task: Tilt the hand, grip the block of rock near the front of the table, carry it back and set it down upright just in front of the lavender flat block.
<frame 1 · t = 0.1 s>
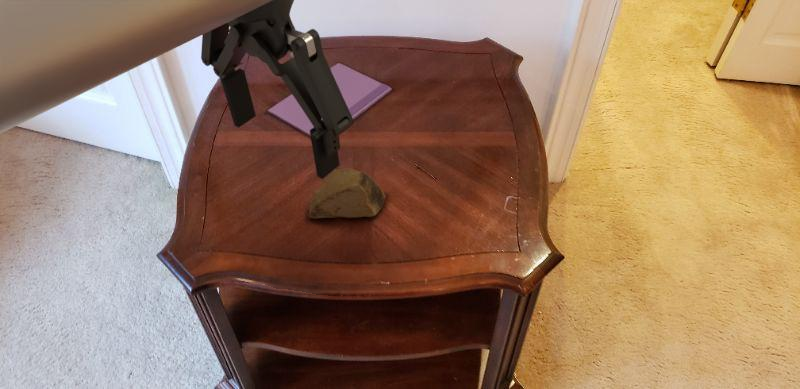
hand: (285, 144, 63), 19 cm above the table, tool pointing down, fingers open, 13 cm apart
rock: (346, 209, 81), on the table
lavender flat block: (331, 101, 98), on the table
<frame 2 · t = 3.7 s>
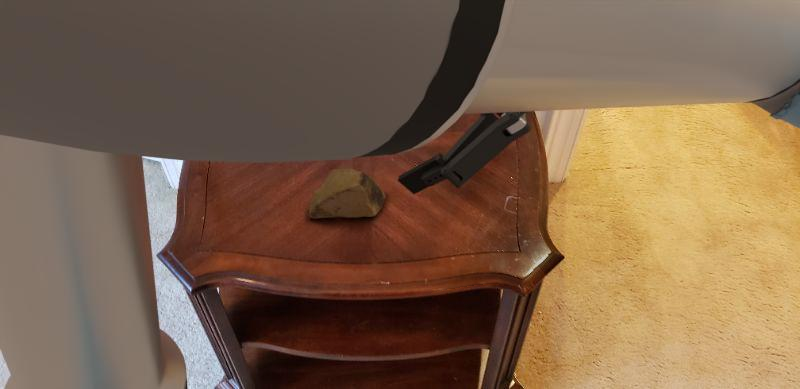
hand: (418, 146, 68), 15 cm above the table, tool tilted 45°, fingers open, 13 cm apart
nothing on the table moved.
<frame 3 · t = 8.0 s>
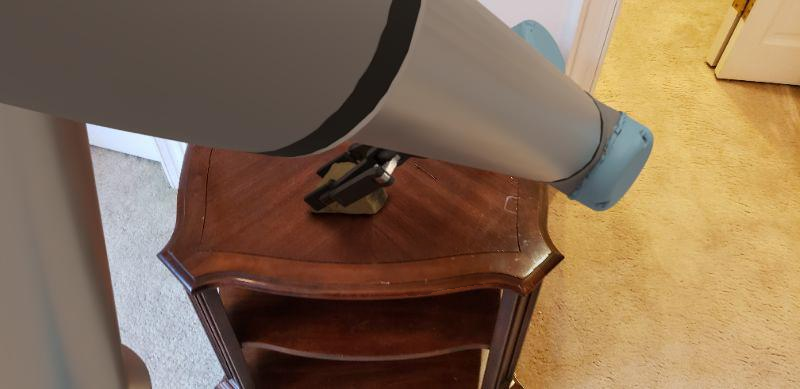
hand: (317, 190, 79), 3 cm above the table, tool tilted 45°, fingers closed on rock, 5 cm apart
rock: (347, 206, 81), on the table, touching gripper
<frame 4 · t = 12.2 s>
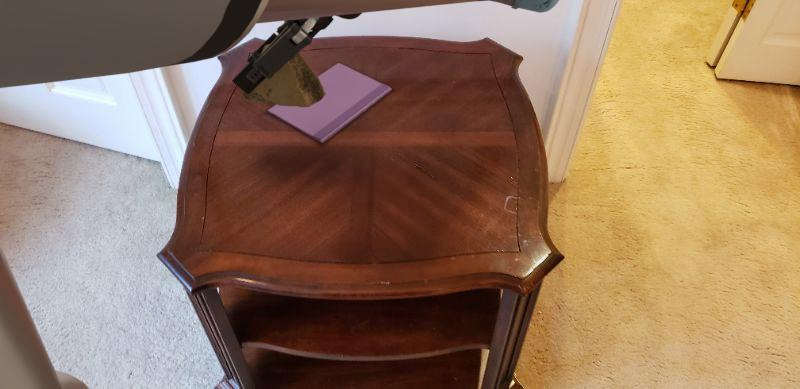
hand: (248, 75, 76), 16 cm above the table, tool tilted 45°, fingers closed on rock, 4 cm apart
rock: (283, 100, 79), point 12 cm above the table, touching gripper
when the fingers open (4 cm above the table, at t = 16.1 s): rock stays where it is, on the table.
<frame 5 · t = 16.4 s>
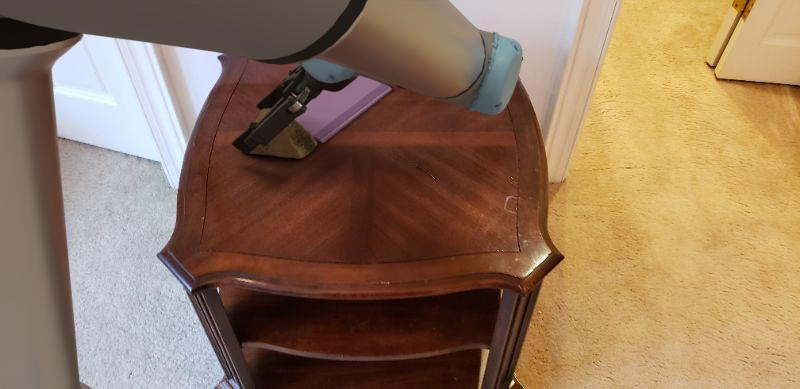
hand: (252, 128, 86), 4 cm above the table, tool tilted 45°, fingers open, 8 cm apart
rock: (280, 150, 90), on the table
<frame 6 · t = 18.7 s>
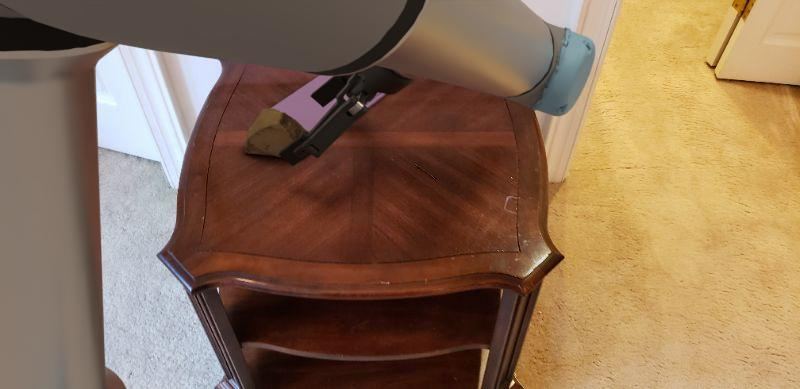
hand: (302, 128, 84), 6 cm above the table, tool tilted 45°, fingers open, 13 cm apart
nothing on the table moved.
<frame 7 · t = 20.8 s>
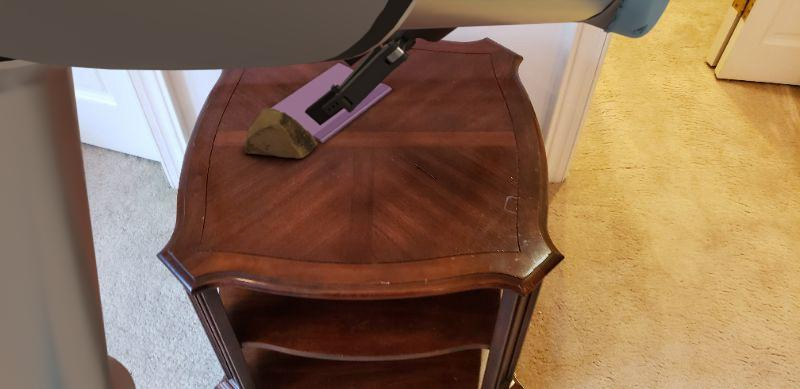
hand: (329, 86, 76), 15 cm above the table, tool tilted 45°, fingers open, 13 cm apart
nothing on the table moved.
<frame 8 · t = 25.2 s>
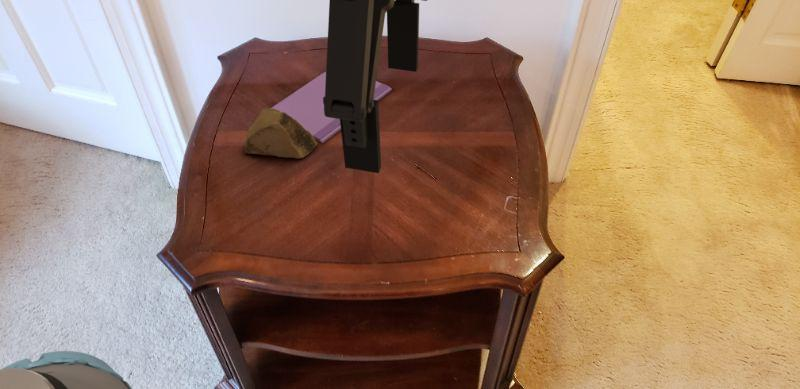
hand: (385, 113, 48), 31 cm above the table, tool pointing down, fingers open, 13 cm apart
nothing on the table moved.
at the end: rock inside the target area on the table beside the lavender flat block (1.6 cm from its centre), on the table; rock tilted 0°; the gripper is holding nothing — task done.
